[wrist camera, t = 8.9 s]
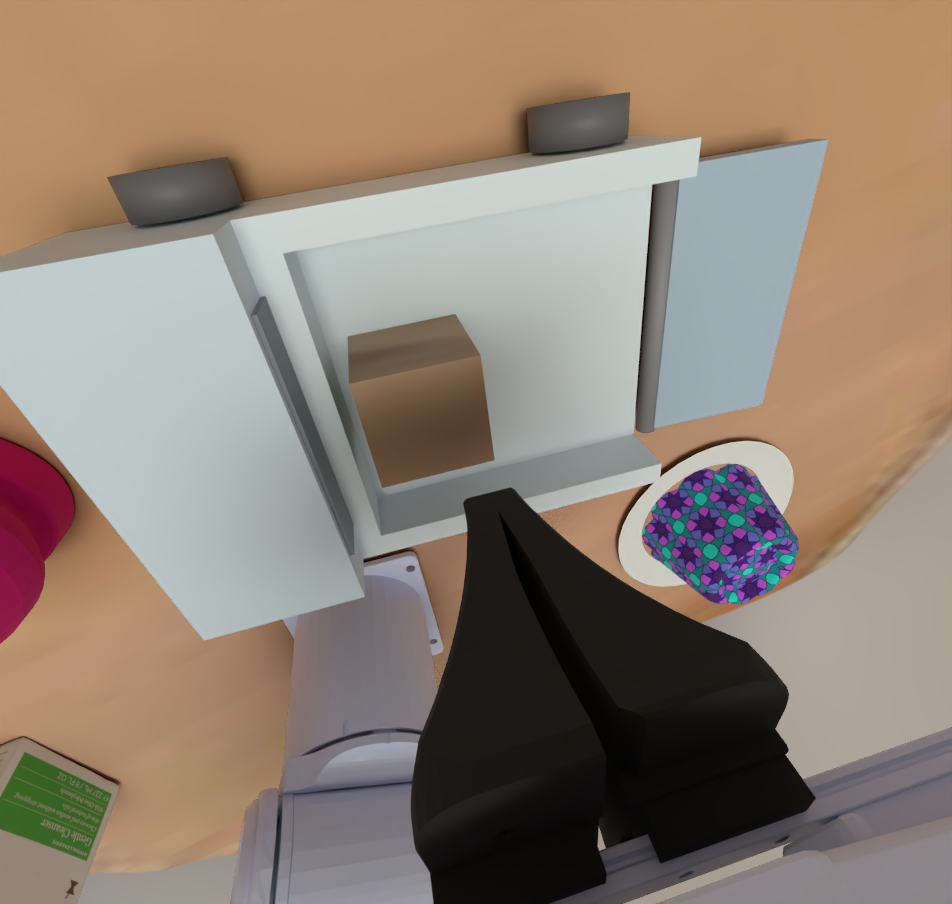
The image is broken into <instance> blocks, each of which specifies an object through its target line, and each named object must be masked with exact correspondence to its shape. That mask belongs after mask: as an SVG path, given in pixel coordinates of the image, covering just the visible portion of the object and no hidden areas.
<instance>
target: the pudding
mask: <svg viewBox="0 0 952 904" xmlns="http://www.w3.org/2000/svg"><path fill="white" fill-rule="evenodd" d="M726 463H732V464H729V465H726V466H724V467H722V468H720V469H719V470H717V471H713V470H709V469H703V468H706V467H709V466H713V465H717V464H726ZM738 464H740V465H738ZM741 465H743V466H746V467H748V468H750V469H751V470H753V471H754V472H755V474H756V475H757V476H758V478H759V480H760V481H759V480H758V478H757V477H756V476H750V475H749V473H748V472H747V470H746V469H745V467H743V466H741ZM701 469H703V470H701ZM698 470H700V471H698ZM696 471H697V472H696ZM692 473H693V474H692ZM690 474H691V475H690ZM688 475H690V476H688ZM686 476H688V477H687V478H685V479H684V480H683V482H682V483H681V485H680V486H679V488H678V489H677V490H674V491H671V492H669V493H666V494H665V495H664V496H662V495H663V494H664V493H665V492H666V491H667V490H668V489H669V488H671V487H672V486H673V485H674V484H676V483H677V482H679V481H680V480H681V479H683V478H684V477H686ZM793 482H794V477H793V469H792V466H791V464H790V461H789V459H788V458H787V457H786V456H785V455H784V453H783V452H782V451H780V450H779V449H777V448H776V447H774V446H772V445H769V444H766V443H762V442H755V441H740V442H731V443H727V444H723V445H719V446H715V447H712V448H710V449H707V450H705V451H702V452H700V453H697V454H695V455H693V456H692V457H690V458H688V459H686V460H684V461H682V462H681V463H679V464H678V465H676V466H675V467H673V468H672V469H670V470H669V471H668V472H666V473H665V474H663V475H662V476H661V477H660V481H658V482H654V483H653V484H652V485H651V486H650V487H649V488H648V489H647V490H646V492H645V493H644V494H643V495H642V496H641V497H640V498H639V499H638V501H637V502H636V504H635V505H634V507H633V508H632V510H631V511H630V513H629V514H628V516H627V518H626V521H625V523H624V525H623V527H622V530H621V534H620V537H619V547H618V552H619V558H620V562H621V564H622V566H623V568H624V570H625V571H626V572H627V573H628V574H629V575H630V576H631V577H632V578H634V579H636V580H637V581H639V582H642V583H645V584H648V585H653V586H677V585H682V584H688V585H689V586H691V587H692V588H693V589H694V590H696V591H697V592H698V593H699V594H701V595H702V596H703V597H704V598H706V599H707V600H709V601H711V602H714V603H718V604H726V603H731V604H742V603H745V602H748V601H750V600H751V599H752V598H754V597H755V596H758V595H763V594H765V593H767V592H769V591H770V590H772V589H773V588H774V587H775V586H776V585H777V583H778V582H779V580H780V579H782V578H783V577H785V576H787V575H788V574H789V573H790V571H791V570H792V569H793V567H794V565H795V559H794V558H795V557H796V555H797V554H798V550H799V543H798V539H797V537H796V535H795V533H794V532H793V530H792V529H791V527H790V526H789V524H788V523H787V521H786V520H785V518H784V517H783V513H784V511H785V509H786V507H787V505H788V503H789V500H790V497H791V494H792V490H793ZM661 496H662V497H661ZM660 497H661V498H660ZM659 498H660V499H659ZM658 499H659V500H658ZM657 500H658V501H657ZM656 501H657V502H656ZM655 503H656V504H655ZM654 504H655V506H654ZM653 506H654V508H653V509H652V516H653V520H652V521H651V522H650V523H649V524H648V525H647V526H646V527H645V528H644V532H643V536H642V528H643V525H644V522H645V519H646V517H647V515H648V513H649V511H650V510H651V508H652V507H653ZM641 536H642V537H643V540H644V543H645V544H646V545H648V546H649V547H650V548H651V549H652V553H651V554H652V555H653V556H654V557H655V558H656V559H657V560H656V559H654V558H652V557H651V556H649V554H648V553H647V552H646V551H645V549H644V547H643V544H642V537H641Z"/></svg>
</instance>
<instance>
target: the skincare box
mask: <svg viewBox="0 0 952 904" xmlns="http://www.w3.org/2000/svg"><path fill="white" fill-rule="evenodd" d="M118 792H119V786H118V785H117V784H115V783H113V782H111V781H109V780H106V779H104V778H102V777H101V776H99V775H97V774H95V773H94V772H92V771H90V770H88V769H86V768H84V767H81V766H79V765H77V764H75V763H74V762H72V761H70V760H68V759H66V758H64V757H62V756H60V755H58V754H56V753H54V752H52V751H50V750H48V749H46V748H44V747H42V746H40V745H38V744H37V743H35V742H33V741H31V740H29V739H27V738H24V737H21V738H19V739H16V740H14V741H11V742H9V743H6V744H4V745H1V746H0V904H77V902H78V899H79V897H80V894H81V891H82V888H83V885H84V883H85V880H86V878H87V875H88V872H89V870H90V867H91V865H92V862H93V859H94V856H95V854H96V851H97V849H98V846H99V843H100V840H101V838H102V835H103V832H104V830H105V827H106V824H107V821H108V818H109V816H110V813H111V811H112V808H113V805H114V803H115V800H116V797H117V795H118Z"/></svg>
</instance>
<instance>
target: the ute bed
mask: <svg viewBox="0 0 952 904" xmlns="http://www.w3.org/2000/svg"><path fill="white" fill-rule="evenodd" d="M629 105H630V92H628V93H621V94H613V95H607V96H600V97H593V98H587V99H580V100H574V101H568V102H562V103H555V104H549V105H543V106H538V107H532V108H527V120H528V138H529V153H524V154H518V155H512V156H506V157H501V158H495V159H489V160H483V161H478V162H472V163H466V164H460V165H454V166H449V167H443V168H437V169H431V170H426V171H420V172H414V173H408V174H403V175H397V176H391V177H385V178H379V179H374V180H368V181H362V182H356V183H351V184H345V185H339V186H333V187H328V188H322V189H316V190H310V191H305V192H299V193H293V194H287V195H281V196H276V197H270V198H264V199H258V200H253V201H247V202H243V199H242V196H241V194H240V191H239V188H238V185H237V183H236V180H235V177H234V175H233V172H232V169H231V167H230V164H229V161H228V158H227V157H225V158H218V159H211V160H205V161H198V162H192V163H186V164H180V165H174V166H168V167H162V168H156V169H150V170H144V171H138V172H132V173H127V174H121V175H116V176H111V177H107V178H108V180H109V182H110V184H111V186H112V188H113V190H114V192H115V194H116V196H117V198H118V200H119V202H120V204H121V206H122V208H123V210H124V212H125V214H126V216H127V218H128V220H129V222H126V223H120V224H114V225H108V226H103V227H97V228H91V229H85V230H80V231H74V232H68V233H64V234H61V235H59V236H56V237H53V238H51V239H48V240H45V241H42V242H40V243H37V244H34V245H32V246H29V247H26V248H24V249H21V250H18V251H16V252H13V253H10V254H7V255H5V256H2V257H0V386H1V387H2V388H3V389H4V391H5V392H6V393H7V394H8V396H9V397H10V398H11V399H12V401H13V402H14V403H15V404H16V406H17V407H18V408H19V409H20V411H21V412H22V413H23V414H24V416H25V417H26V418H27V419H28V421H29V422H30V423H31V424H32V426H33V427H34V428H35V429H36V431H37V432H38V433H39V434H40V436H41V437H42V438H43V439H44V441H45V442H46V443H47V444H48V446H49V447H50V448H51V449H52V451H53V452H54V453H55V455H56V456H57V457H58V458H59V460H60V461H61V462H62V463H63V465H64V466H65V467H66V468H67V470H68V471H69V472H70V473H71V475H72V476H73V477H74V478H75V480H76V481H77V482H78V483H79V485H80V486H81V487H82V488H83V490H84V491H85V492H86V493H87V495H88V496H89V497H90V498H91V500H92V501H93V502H94V503H95V505H96V506H97V507H98V508H99V510H100V511H101V512H102V513H103V515H104V516H105V517H106V518H107V520H108V521H109V522H110V523H111V525H112V526H113V527H114V528H115V530H116V531H117V532H118V533H119V535H120V536H121V537H122V538H123V540H124V541H125V542H126V543H127V545H128V546H129V547H130V548H131V550H132V551H133V552H134V554H135V555H136V556H137V557H138V559H139V560H140V561H141V562H142V564H143V565H144V566H145V567H146V569H147V570H148V571H149V572H150V574H151V575H152V576H153V577H154V579H155V580H156V581H157V582H158V584H159V585H160V586H161V587H162V589H163V590H164V591H165V592H166V594H167V595H168V596H169V597H170V599H171V600H172V601H173V602H174V604H175V605H176V606H177V607H178V609H179V610H180V611H181V612H182V614H183V615H184V616H185V617H186V619H187V620H188V621H189V622H190V624H191V625H192V626H193V627H194V629H195V630H196V631H197V632H198V634H199V635H200V636H201V637H202V639H203V640H208V639H212V638H216V637H219V636H223V635H227V634H230V633H234V632H238V631H241V630H245V629H249V628H252V627H256V626H260V625H263V624H267V623H271V622H274V621H278V620H282V619H285V618H289V617H293V616H296V615H300V614H304V613H308V612H311V611H315V610H319V609H322V608H326V607H330V606H333V605H337V604H341V603H344V602H348V601H352V600H355V599H359V598H363V597H365V584H364V564H363V559H365V558H369V557H373V556H376V555H380V554H384V553H388V552H392V551H396V550H399V549H403V548H407V547H411V546H415V545H418V544H422V543H426V542H430V541H434V540H437V539H441V538H445V537H449V536H453V535H456V534H460V533H464V532H467V521H466V516H465V511H464V506H463V502H464V501H465V500H466V498H470V497H474V496H478V495H482V494H486V493H490V492H494V491H498V490H502V489H506V488H510V487H511V488H513V489H515V490H516V492H517V493H518V494H519V495H520V496H521V497H522V498H523V500H524V501H525V502H526V503H527V504H528V505H529V506H530V507H531V508H532V509H533V510H534V511H535V512H536V513H540V512H544V511H548V510H552V509H555V508H559V507H563V506H567V505H571V504H574V503H578V502H582V501H586V500H590V499H594V498H597V497H601V496H605V495H609V494H613V493H616V492H620V491H624V490H628V489H632V488H635V487H639V486H643V485H647V484H651V483H654V482H658V481H660V474H661V465H662V463H661V462H660V461H659V460H658V459H657V458H656V457H655V456H654V455H653V454H652V453H651V452H650V451H649V450H648V449H647V448H646V447H645V446H644V444H643V443H642V442H641V441H640V440H639V439H638V438H637V437H636V436H635V435H634V421H635V407H636V394H637V381H638V367H639V354H640V341H641V327H642V314H643V301H644V287H645V274H646V261H647V247H648V234H649V221H650V207H651V194H652V184H658V183H663V182H668V181H674V180H679V179H685V178H690V177H695V176H697V170H698V162H699V154H700V145H701V137H675V136H628V126H629ZM452 314H456V316H457V318H458V319H459V321H460V322H461V324H462V326H463V327H464V329H465V331H466V332H467V334H468V335H469V337H470V339H471V340H472V342H473V344H474V345H475V347H476V348H477V350H478V352H479V353H480V355H481V362H482V369H483V377H484V384H485V392H486V399H487V407H488V414H489V422H490V429H491V436H492V444H493V451H494V459H495V460H494V461H490V462H486V463H482V464H478V465H474V466H470V467H466V468H462V469H458V470H453V471H449V472H445V473H441V474H437V475H433V476H429V477H425V478H421V479H417V480H413V481H409V482H405V483H401V484H397V485H393V486H389V487H385V488H382V486H381V483H380V480H379V477H378V474H377V471H376V468H375V464H374V461H373V458H372V455H371V452H370V449H369V446H368V443H367V439H366V436H365V433H364V430H363V427H362V424H361V421H360V418H359V414H358V411H357V408H356V405H355V402H354V399H353V396H352V393H351V389H350V386H349V371H348V336H352V335H357V334H362V333H366V332H371V331H376V330H381V329H386V328H390V327H395V326H400V325H405V324H409V323H414V322H419V321H424V320H429V319H433V318H438V317H443V316H448V315H452Z"/></svg>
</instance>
